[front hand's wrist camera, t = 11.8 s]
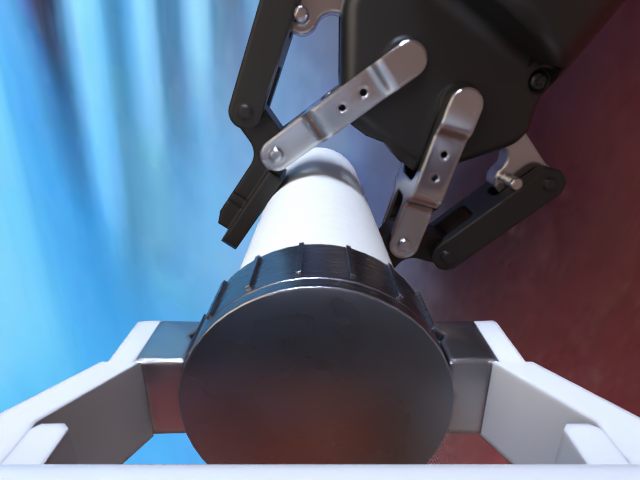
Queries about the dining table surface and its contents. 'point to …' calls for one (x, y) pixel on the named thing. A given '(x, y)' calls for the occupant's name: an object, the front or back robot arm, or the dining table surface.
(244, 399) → the lid
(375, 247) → the white cylinder
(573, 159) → the dining table surface
